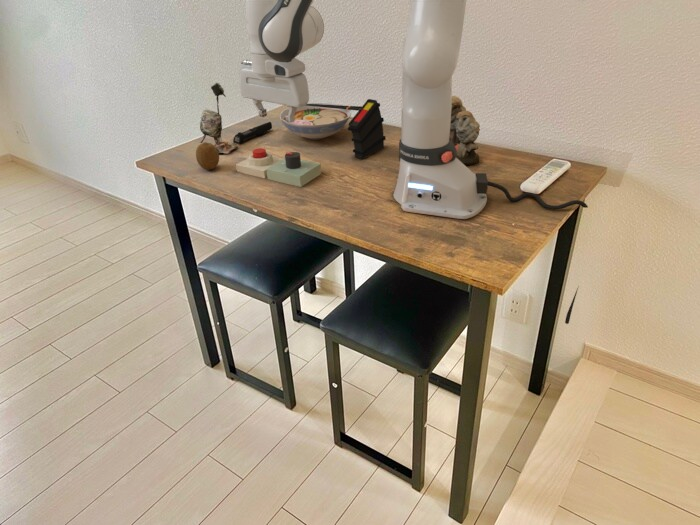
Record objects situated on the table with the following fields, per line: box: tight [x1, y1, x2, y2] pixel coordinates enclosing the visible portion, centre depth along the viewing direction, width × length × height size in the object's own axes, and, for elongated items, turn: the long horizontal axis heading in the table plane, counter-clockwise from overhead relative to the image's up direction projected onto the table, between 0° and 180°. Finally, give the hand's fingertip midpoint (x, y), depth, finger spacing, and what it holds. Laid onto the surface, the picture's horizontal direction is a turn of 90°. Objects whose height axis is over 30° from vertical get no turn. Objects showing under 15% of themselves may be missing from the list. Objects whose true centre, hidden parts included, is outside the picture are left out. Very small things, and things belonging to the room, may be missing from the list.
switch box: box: [235, 150, 284, 179], centre depth 145 cm, size 10×10×4 cm
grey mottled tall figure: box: [199, 82, 238, 154], centre depth 154 cm, size 8×11×20 cm
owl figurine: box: [449, 95, 481, 167], centre depth 144 cm, size 18×12×17 cm, turn 58°
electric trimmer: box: [232, 121, 273, 145], centre depth 168 cm, size 4×16×3 cm, turn 143°
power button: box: [252, 147, 267, 158], centre depth 144 cm, size 4×4×2 cm
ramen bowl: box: [278, 102, 363, 141], centre depth 165 cm, size 25×23×8 cm
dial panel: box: [266, 158, 322, 188], centre depth 140 cm, size 11×10×3 cm
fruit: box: [195, 141, 220, 171], centre depth 145 cm, size 6×6×8 cm
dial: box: [284, 151, 302, 169], centre depth 138 cm, size 4×4×4 cm
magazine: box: [347, 98, 386, 160], centre depth 150 cm, size 4×13×15 cm, turn 142°
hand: (276, 119), depth 135 cm, fingers open, 8 cm apart
